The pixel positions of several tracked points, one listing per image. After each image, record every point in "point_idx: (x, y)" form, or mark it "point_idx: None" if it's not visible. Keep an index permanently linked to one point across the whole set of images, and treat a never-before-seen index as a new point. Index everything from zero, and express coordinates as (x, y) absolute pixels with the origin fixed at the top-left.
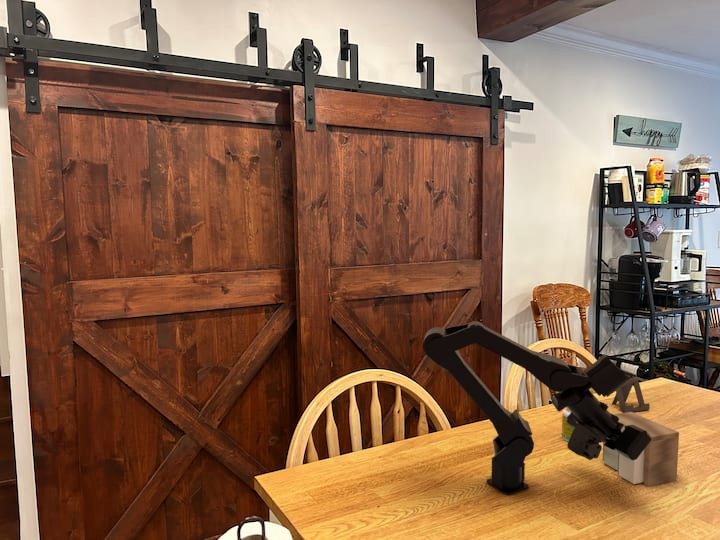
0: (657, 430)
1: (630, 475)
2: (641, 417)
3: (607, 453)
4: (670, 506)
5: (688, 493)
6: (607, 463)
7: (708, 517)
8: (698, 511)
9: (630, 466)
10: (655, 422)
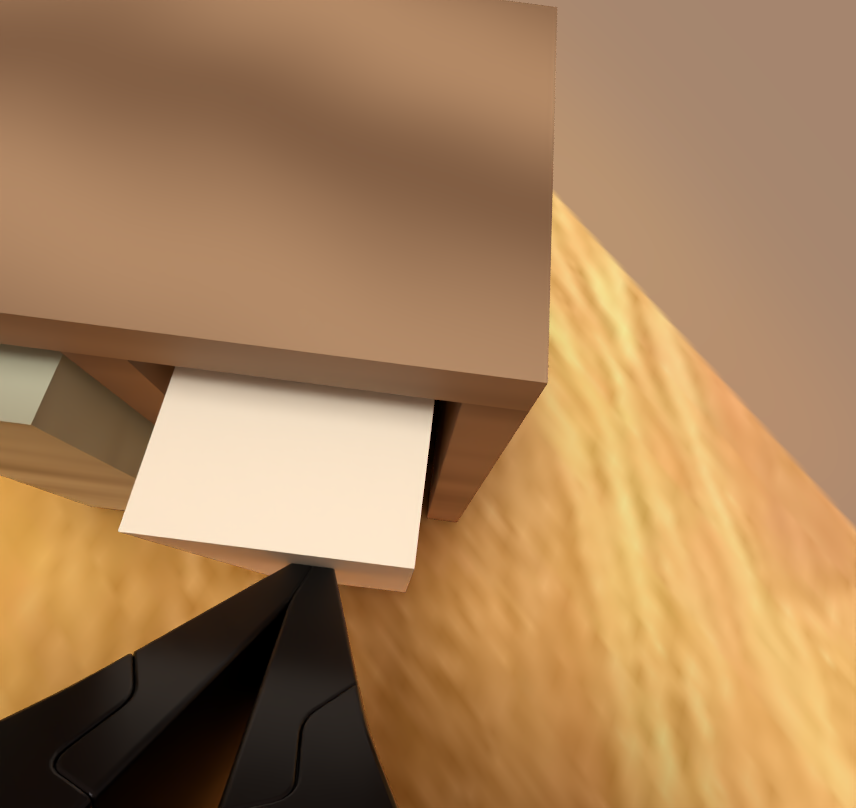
0: (415, 119)
1: (372, 586)
2: None
3: (75, 492)
4: (684, 617)
5: (597, 384)
6: (124, 510)
7: (828, 527)
8: (765, 516)
9: (364, 582)
10: None
